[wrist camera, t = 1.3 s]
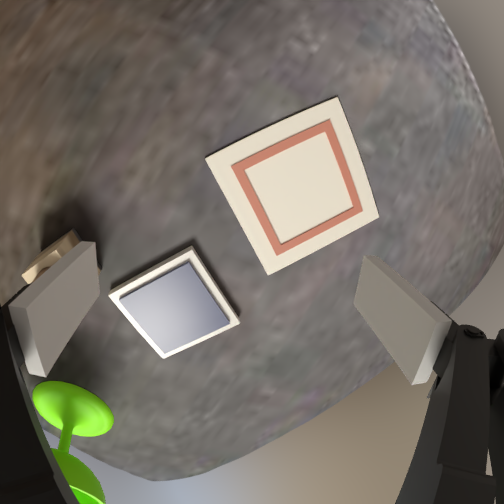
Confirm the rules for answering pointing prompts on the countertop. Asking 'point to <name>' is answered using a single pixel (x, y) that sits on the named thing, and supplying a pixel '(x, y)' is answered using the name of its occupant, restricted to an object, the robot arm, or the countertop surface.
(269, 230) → the print card
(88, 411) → the wineglass
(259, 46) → the countertop surface
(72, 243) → the wooden stamp
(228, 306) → the ink pad
